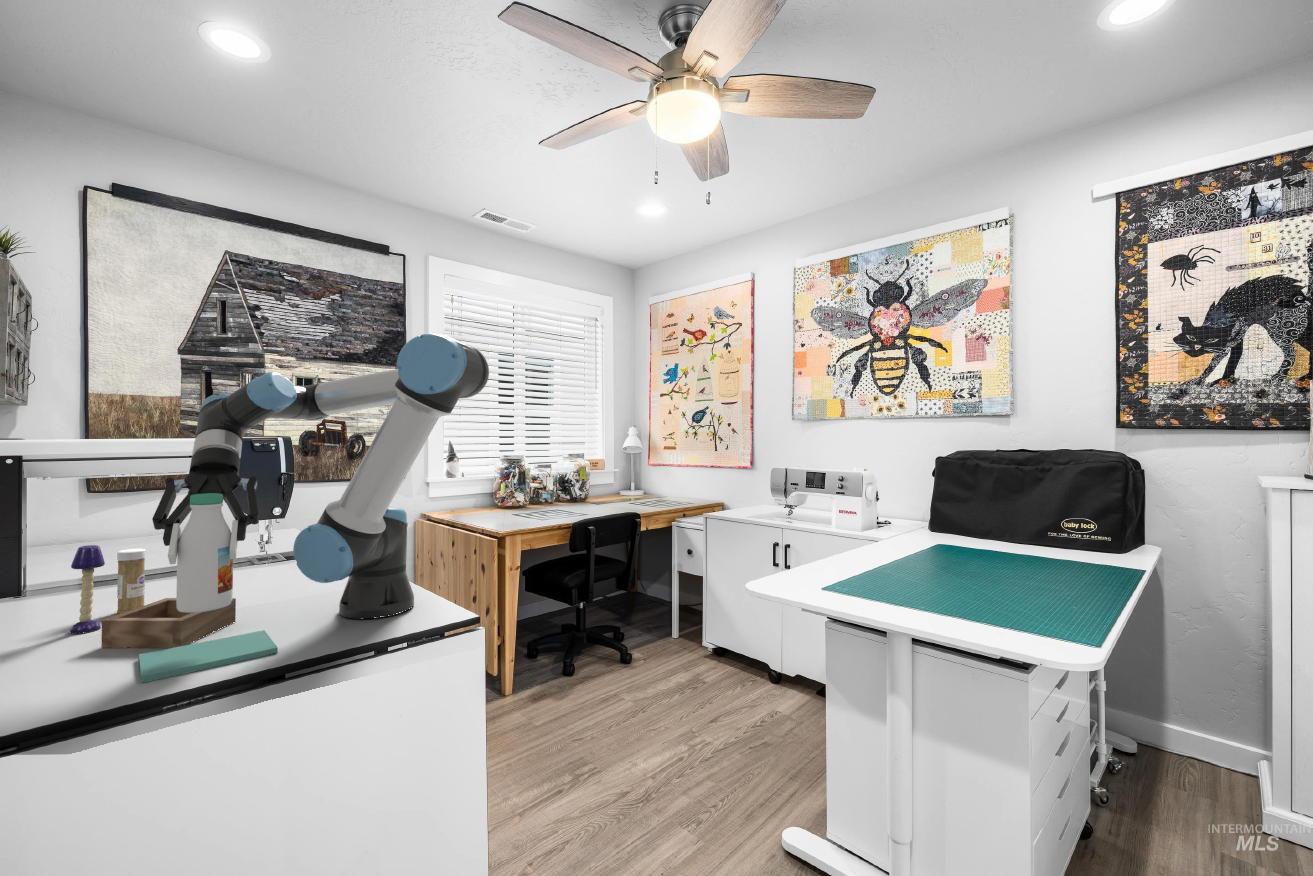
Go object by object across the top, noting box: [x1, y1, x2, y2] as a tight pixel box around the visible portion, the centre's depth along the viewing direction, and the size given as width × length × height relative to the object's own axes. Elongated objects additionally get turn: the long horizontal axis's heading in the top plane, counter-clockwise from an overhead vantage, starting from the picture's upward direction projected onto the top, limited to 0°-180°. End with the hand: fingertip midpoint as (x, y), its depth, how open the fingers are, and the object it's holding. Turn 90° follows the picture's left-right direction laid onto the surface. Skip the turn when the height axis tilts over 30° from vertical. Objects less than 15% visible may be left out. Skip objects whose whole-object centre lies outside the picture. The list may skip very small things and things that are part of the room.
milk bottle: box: [175, 493, 234, 613], centre depth 98 cm, size 8×8×20 cm
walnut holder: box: [100, 597, 237, 649], centre depth 109 cm, size 14×14×5 cm
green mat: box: [138, 629, 279, 684], centre depth 98 cm, size 18×12×1 cm, turn 134°
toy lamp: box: [69, 544, 105, 634], centre depth 110 cm, size 5×5×17 cm
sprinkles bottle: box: [116, 548, 147, 615], centre depth 122 cm, size 5×5×13 cm
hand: (203, 556), depth 96 cm, fingers closed on milk bottle, 7 cm apart
